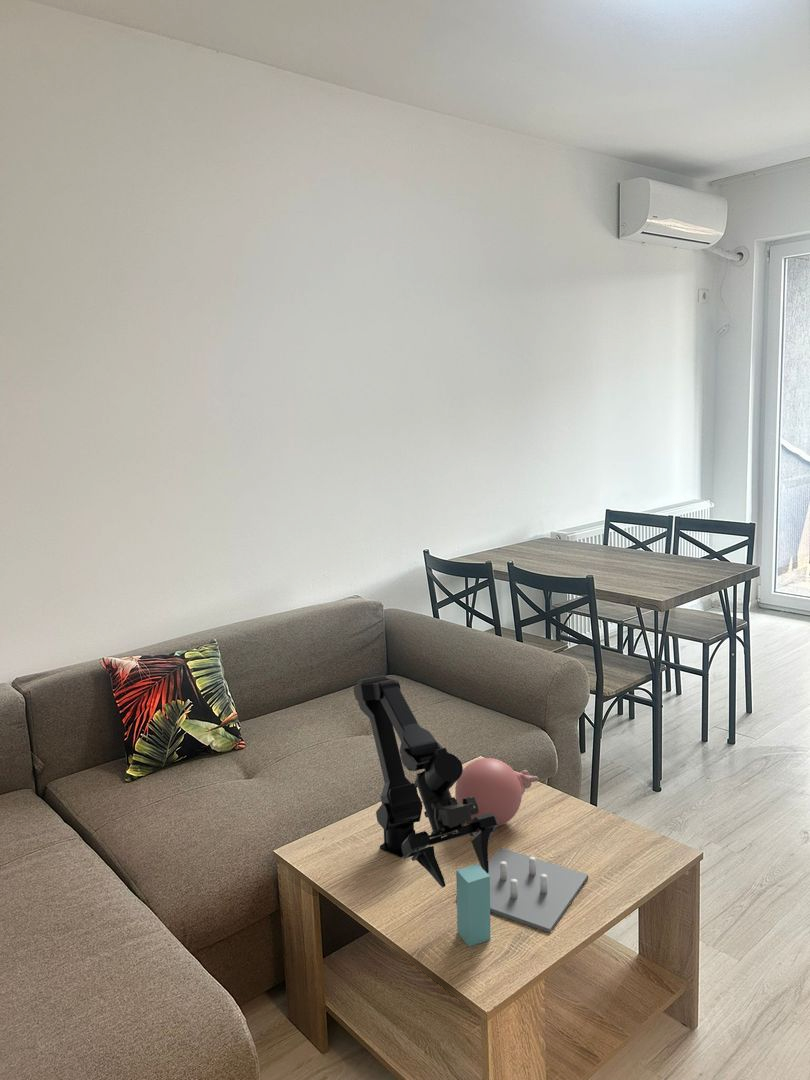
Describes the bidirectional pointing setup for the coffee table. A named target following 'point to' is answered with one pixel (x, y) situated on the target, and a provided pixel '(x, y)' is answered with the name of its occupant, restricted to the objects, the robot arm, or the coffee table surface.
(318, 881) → the coffee table surface
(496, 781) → the balloon
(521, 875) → the peg plate
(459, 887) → the teal block
